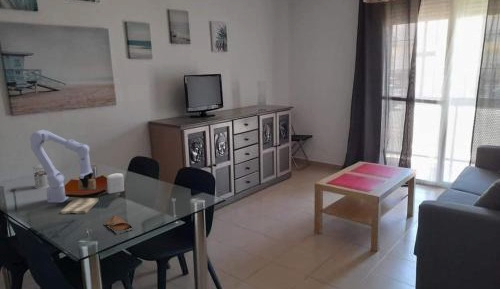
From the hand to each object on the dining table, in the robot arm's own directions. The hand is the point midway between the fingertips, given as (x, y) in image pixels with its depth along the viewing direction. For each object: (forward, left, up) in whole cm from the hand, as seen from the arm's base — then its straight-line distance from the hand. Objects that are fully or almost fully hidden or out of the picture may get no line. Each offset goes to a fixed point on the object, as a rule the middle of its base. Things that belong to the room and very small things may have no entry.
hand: (87, 186), depth 231 cm
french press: (-41, +24, -9) cm, 48 cm away
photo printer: (+13, +12, -9) cm, 20 cm away
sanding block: (0, 0, -2) cm, 2 cm away
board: (0, -12, -8) cm, 15 cm away
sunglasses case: (+30, -39, -9) cm, 50 cm away
